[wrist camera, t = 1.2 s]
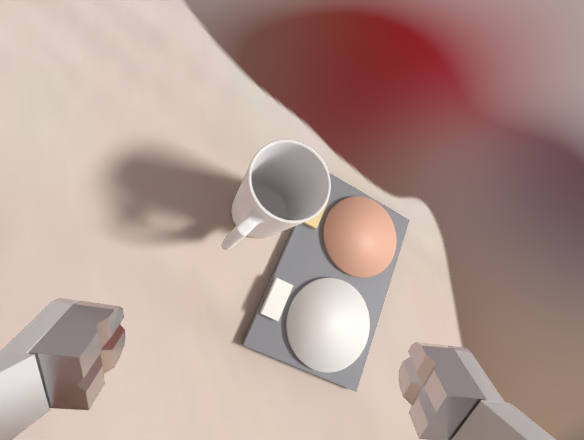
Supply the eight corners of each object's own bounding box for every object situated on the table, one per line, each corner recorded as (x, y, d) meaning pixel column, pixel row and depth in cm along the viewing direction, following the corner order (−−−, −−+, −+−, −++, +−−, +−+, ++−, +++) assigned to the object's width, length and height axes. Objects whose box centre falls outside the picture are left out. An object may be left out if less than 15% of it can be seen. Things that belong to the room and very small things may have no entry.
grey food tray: (241, 343, 31) (244, 347, 29) (318, 170, 37) (324, 166, 36) (351, 388, 34) (360, 394, 32) (404, 221, 40) (413, 219, 39)
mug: (257, 172, 35) (289, 123, 24) (297, 212, 36) (346, 183, 24) (193, 231, 31) (194, 207, 20) (239, 275, 32) (264, 274, 21)
